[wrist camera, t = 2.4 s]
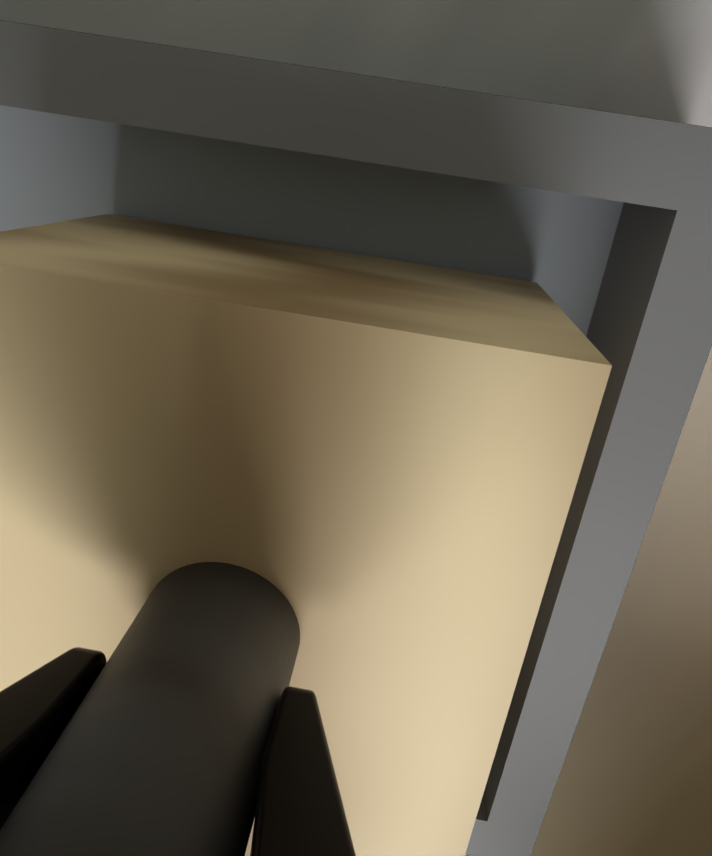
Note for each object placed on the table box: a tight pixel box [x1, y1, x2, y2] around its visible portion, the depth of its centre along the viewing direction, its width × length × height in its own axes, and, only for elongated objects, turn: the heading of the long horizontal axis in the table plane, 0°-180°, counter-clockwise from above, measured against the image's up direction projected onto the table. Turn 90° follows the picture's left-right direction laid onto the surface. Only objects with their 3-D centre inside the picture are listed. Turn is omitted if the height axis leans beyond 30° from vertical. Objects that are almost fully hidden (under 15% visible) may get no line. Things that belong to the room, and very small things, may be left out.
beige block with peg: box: [0, 214, 612, 856], centre depth 11 cm, size 9×10×11 cm
